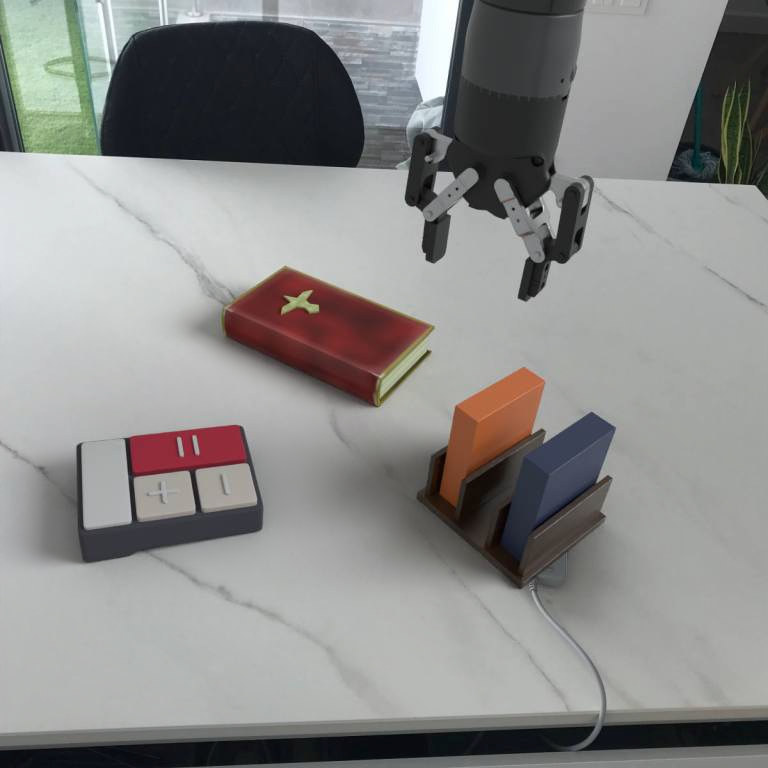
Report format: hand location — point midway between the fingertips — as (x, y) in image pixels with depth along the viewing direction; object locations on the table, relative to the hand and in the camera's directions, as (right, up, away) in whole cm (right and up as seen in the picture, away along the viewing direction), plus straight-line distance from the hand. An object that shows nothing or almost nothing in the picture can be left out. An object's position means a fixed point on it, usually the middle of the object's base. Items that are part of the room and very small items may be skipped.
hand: (479, 277), depth 63 cm
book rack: (+4, -20, +10) cm, 23 cm away
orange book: (+2, -18, +11) cm, 21 cm away
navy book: (+7, -22, +7) cm, 24 cm away
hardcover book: (-14, -4, +27) cm, 31 cm away
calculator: (-27, -19, +7) cm, 34 cm away
